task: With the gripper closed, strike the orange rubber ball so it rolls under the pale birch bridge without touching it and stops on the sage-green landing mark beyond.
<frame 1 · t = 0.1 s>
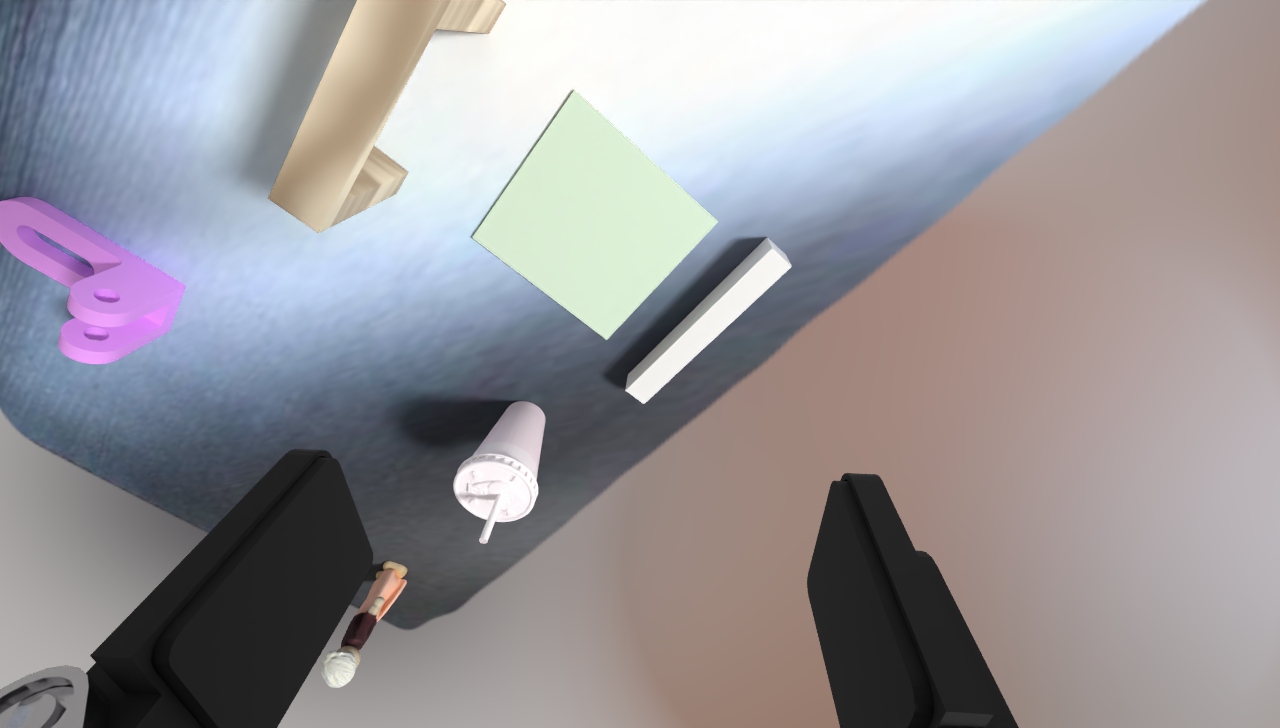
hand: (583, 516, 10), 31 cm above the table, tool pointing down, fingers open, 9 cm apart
grandmother figurine: (394, 569, 61), on the table
landing mark: (592, 229, 39), on the table
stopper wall: (700, 318, 42), on the table
smoothie: (525, 416, 49), on the table
bracket: (100, 259, 43), on the table
bridge: (426, 91, 35), on the table
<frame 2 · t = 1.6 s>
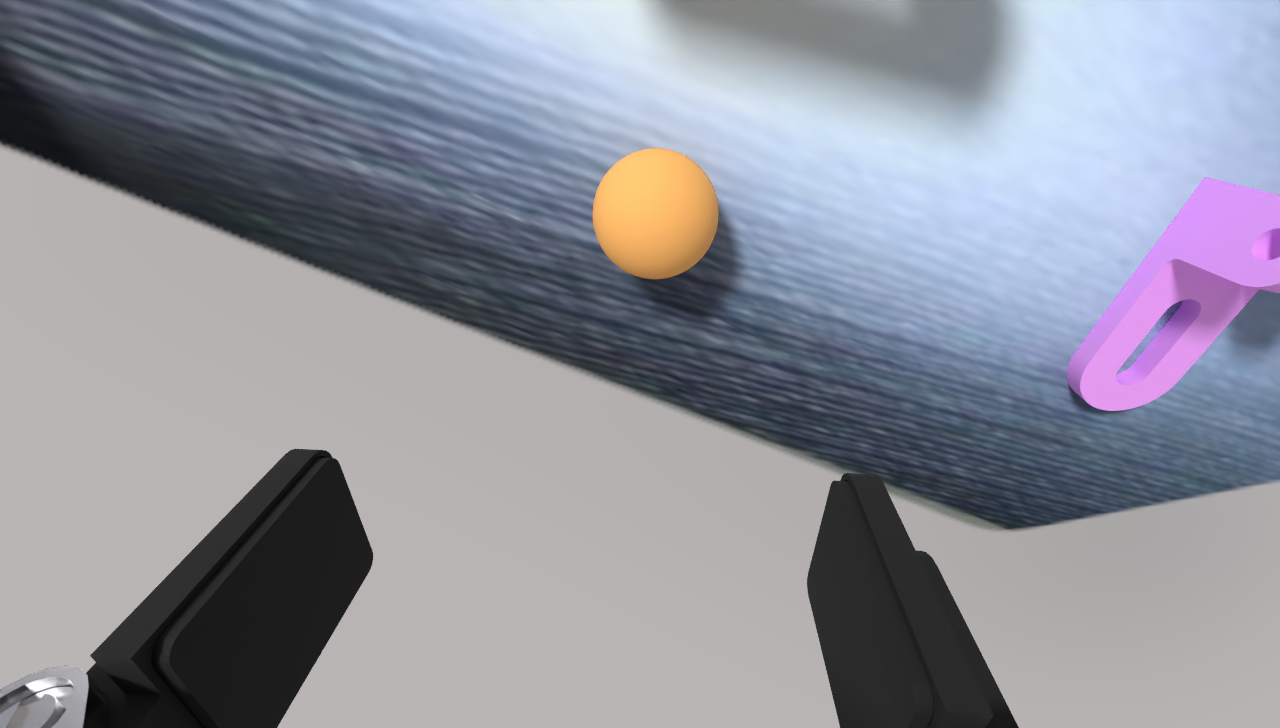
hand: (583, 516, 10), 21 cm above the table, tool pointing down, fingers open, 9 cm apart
ball: (655, 215, 25), on the table
bracket: (1157, 302, 30), on the table
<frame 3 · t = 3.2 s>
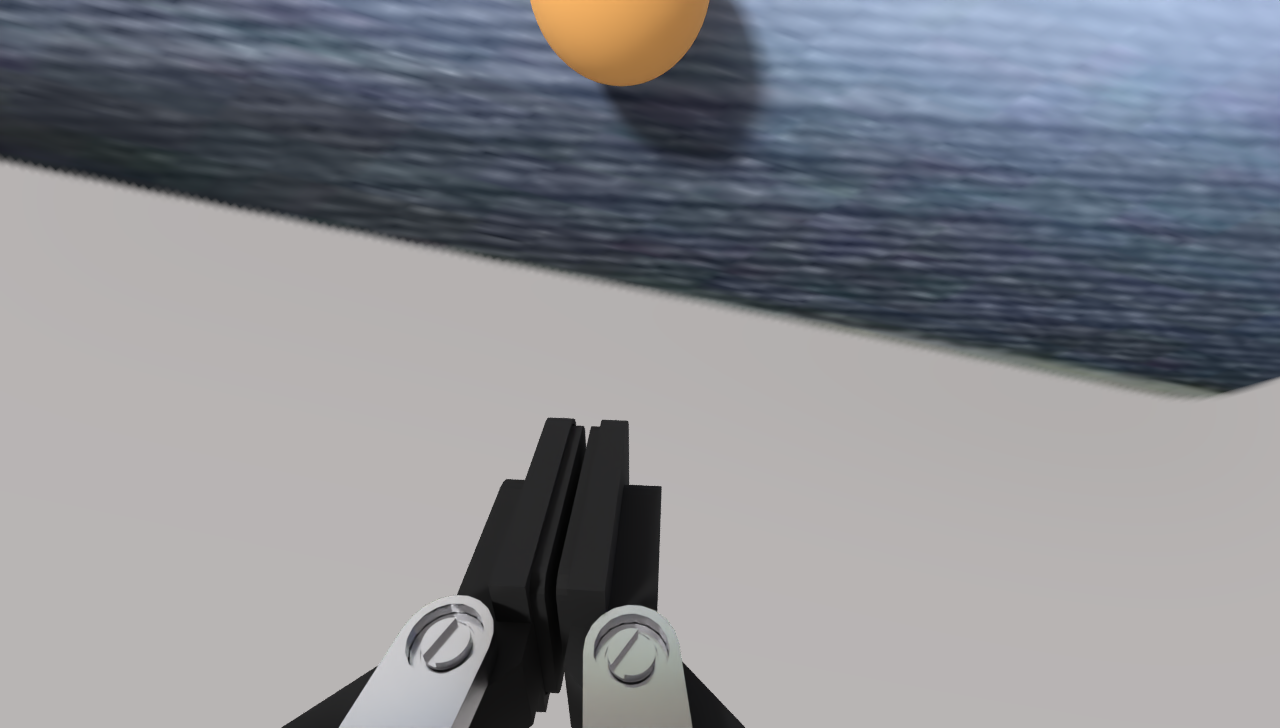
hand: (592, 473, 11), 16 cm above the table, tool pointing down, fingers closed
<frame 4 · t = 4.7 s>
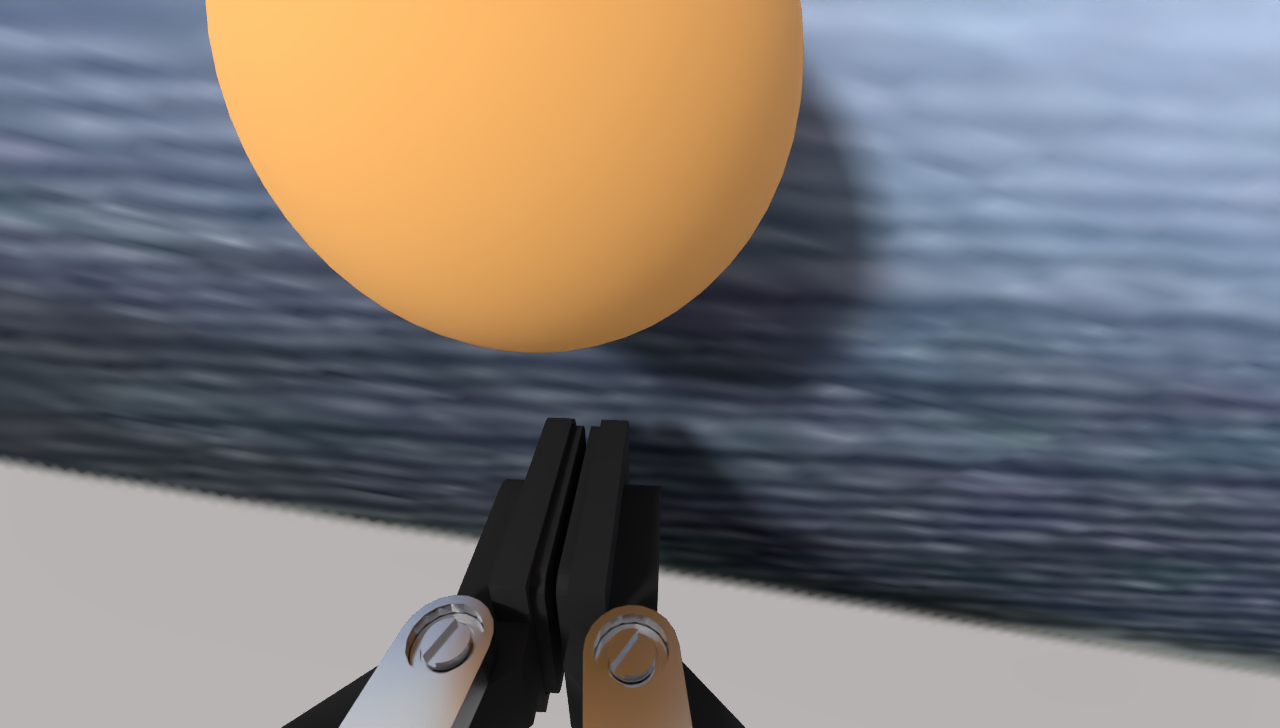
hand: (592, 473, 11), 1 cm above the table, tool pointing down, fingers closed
ball: (536, 97, 6), on the table
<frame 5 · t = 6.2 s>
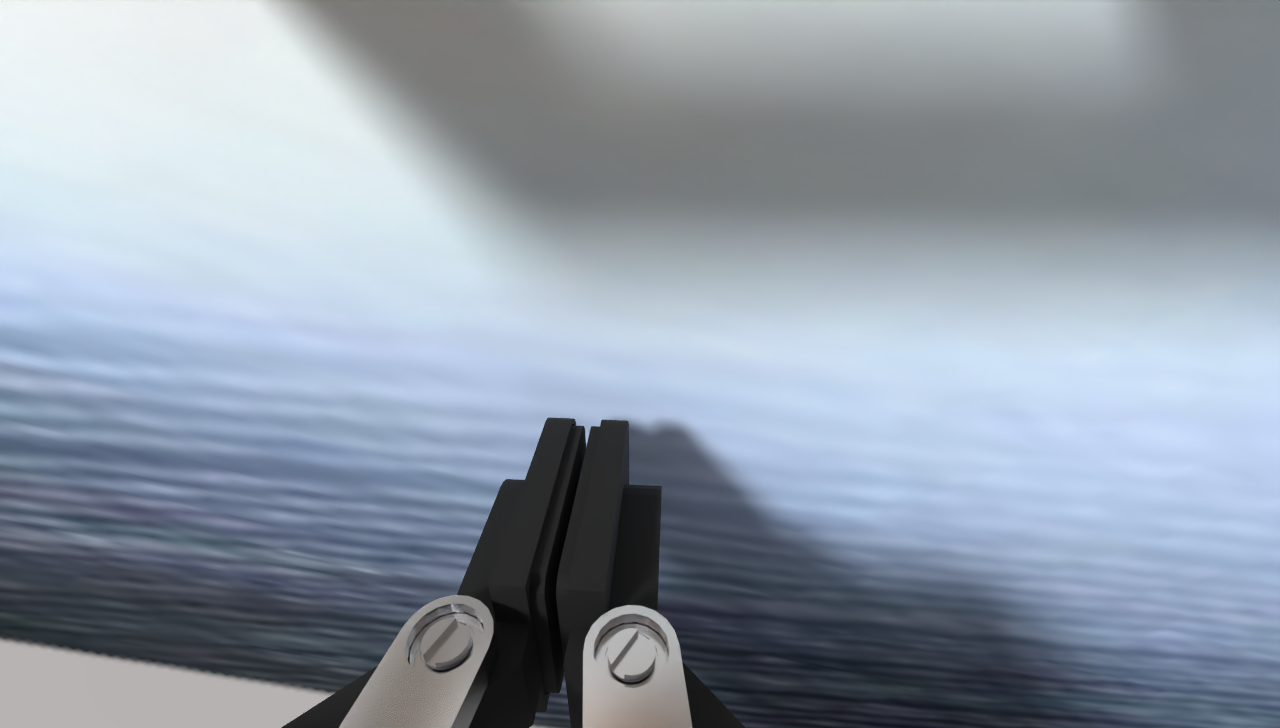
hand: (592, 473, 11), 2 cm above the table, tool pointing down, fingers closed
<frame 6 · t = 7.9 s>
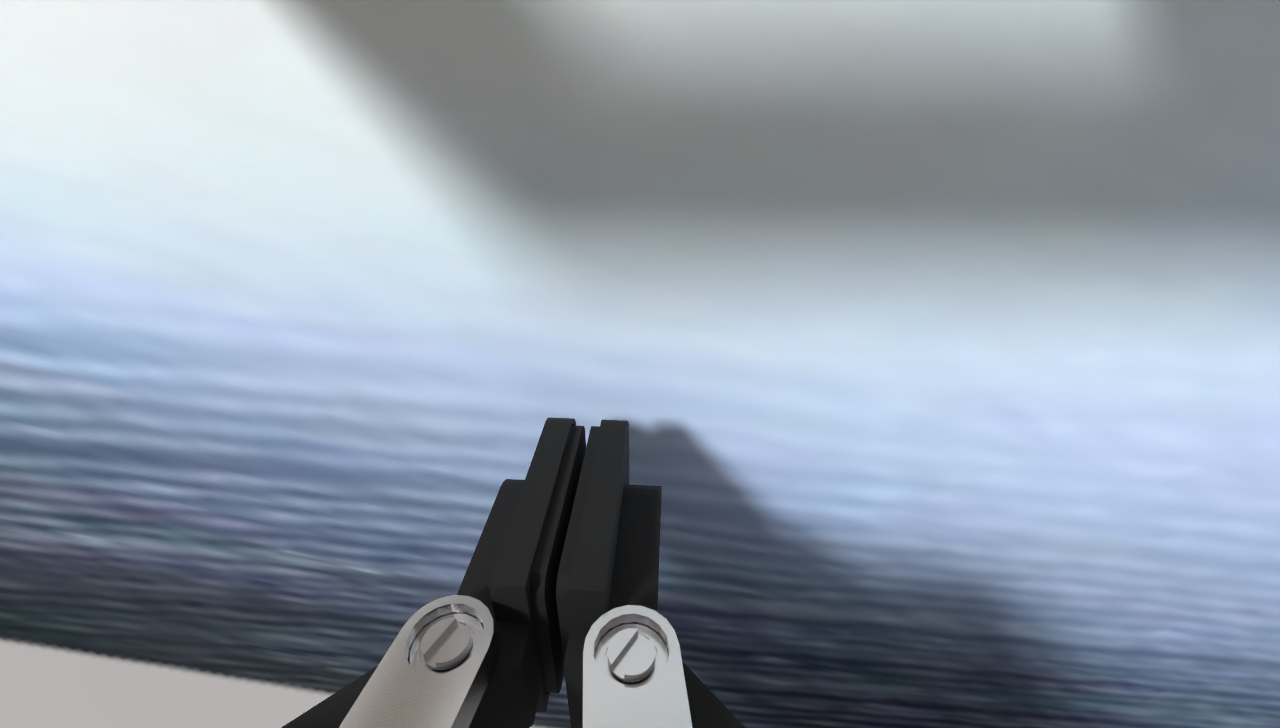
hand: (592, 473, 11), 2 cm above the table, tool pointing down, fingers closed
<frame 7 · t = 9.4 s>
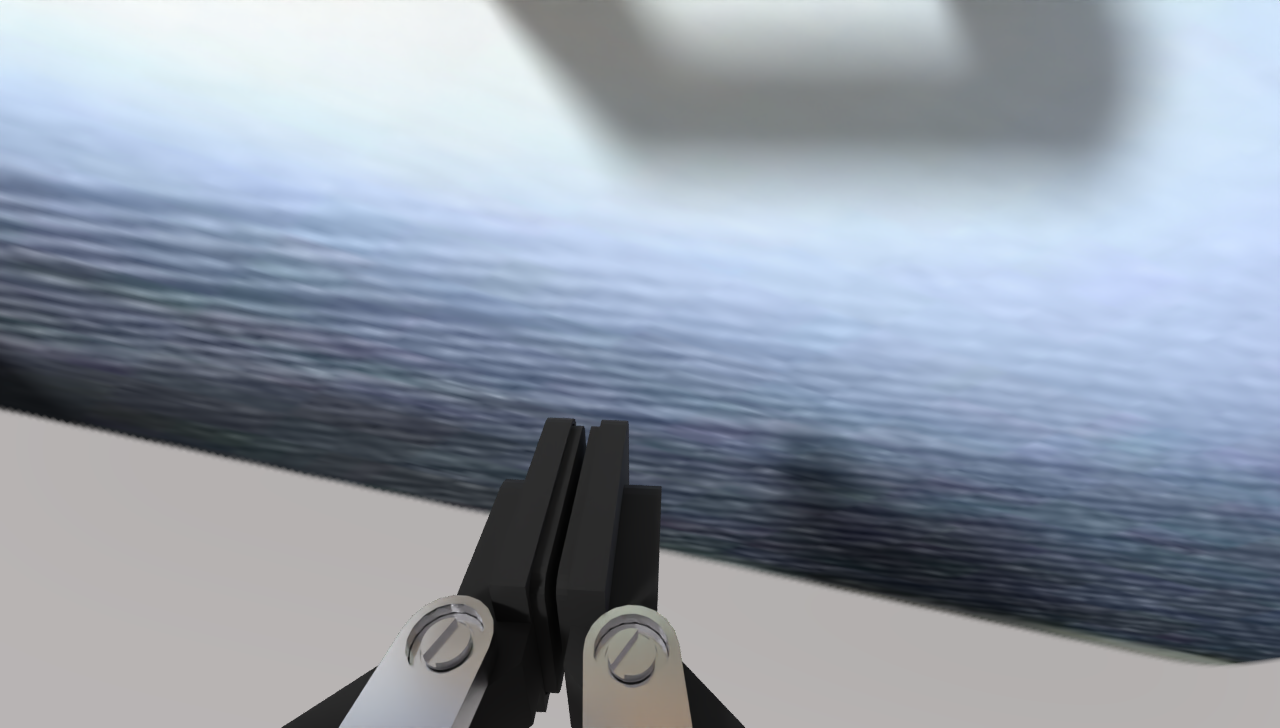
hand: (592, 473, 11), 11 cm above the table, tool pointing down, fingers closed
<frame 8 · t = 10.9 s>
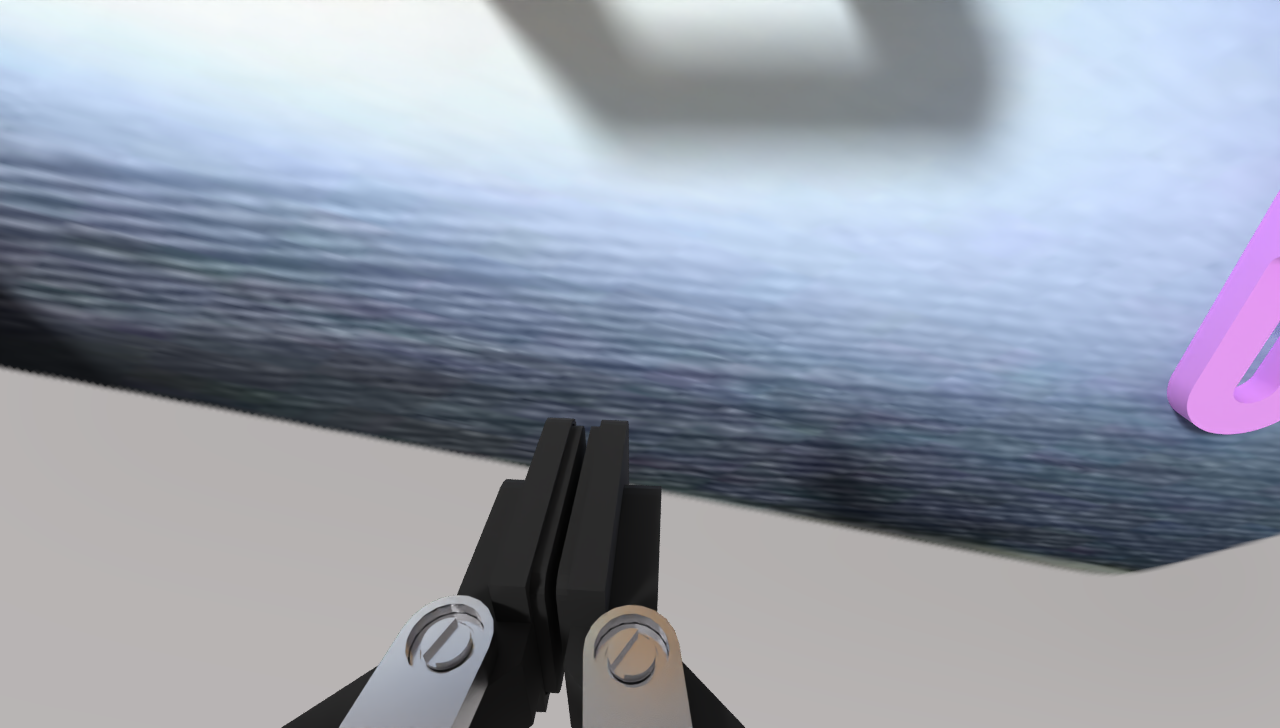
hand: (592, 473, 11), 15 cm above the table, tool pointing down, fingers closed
bracket: (1271, 299, 24), on the table
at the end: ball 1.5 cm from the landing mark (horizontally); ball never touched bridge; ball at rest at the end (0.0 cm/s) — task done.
